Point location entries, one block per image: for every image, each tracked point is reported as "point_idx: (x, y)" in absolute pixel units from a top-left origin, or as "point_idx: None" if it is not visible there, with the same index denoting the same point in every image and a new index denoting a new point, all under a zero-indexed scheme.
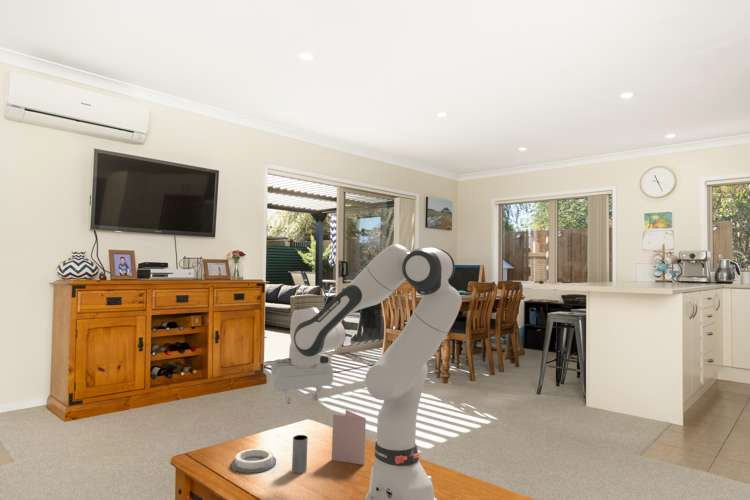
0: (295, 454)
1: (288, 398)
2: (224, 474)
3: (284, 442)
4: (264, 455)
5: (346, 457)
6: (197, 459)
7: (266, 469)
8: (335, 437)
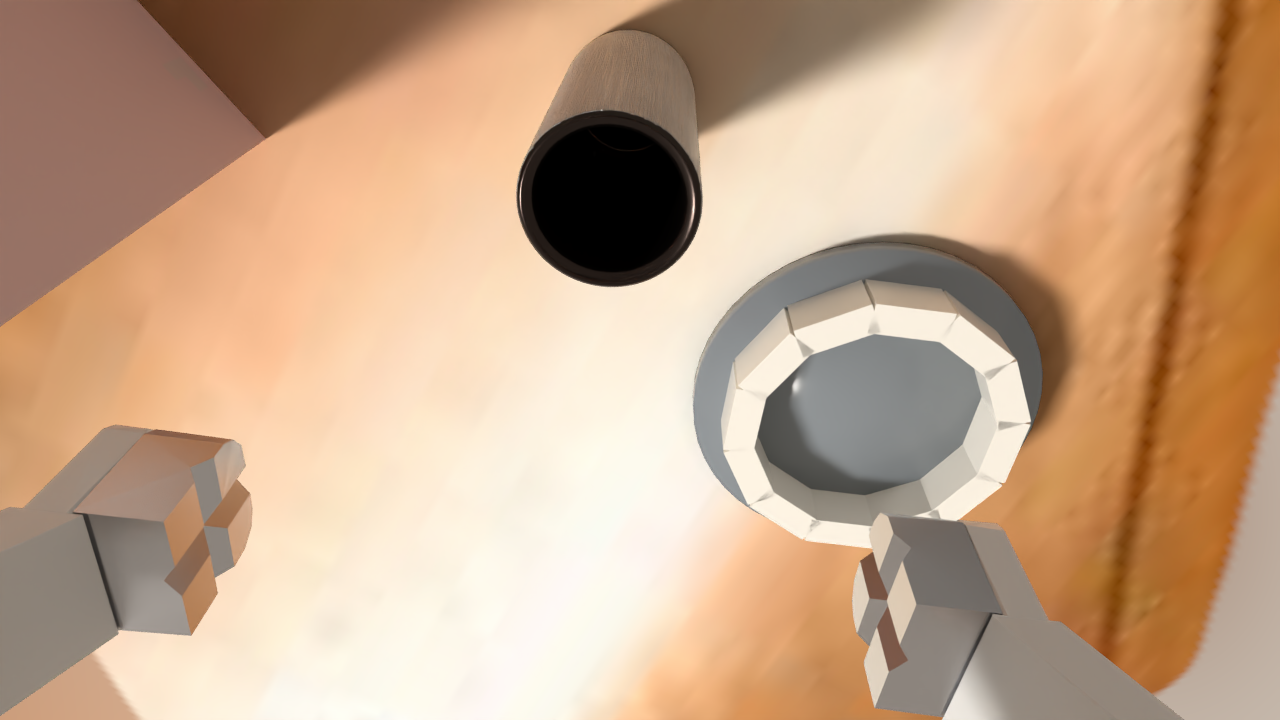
0: (692, 115)
1: (972, 624)
2: (1132, 357)
3: (482, 590)
4: (759, 443)
5: (123, 20)
6: (1097, 629)
7: (860, 248)
8: (124, 185)
